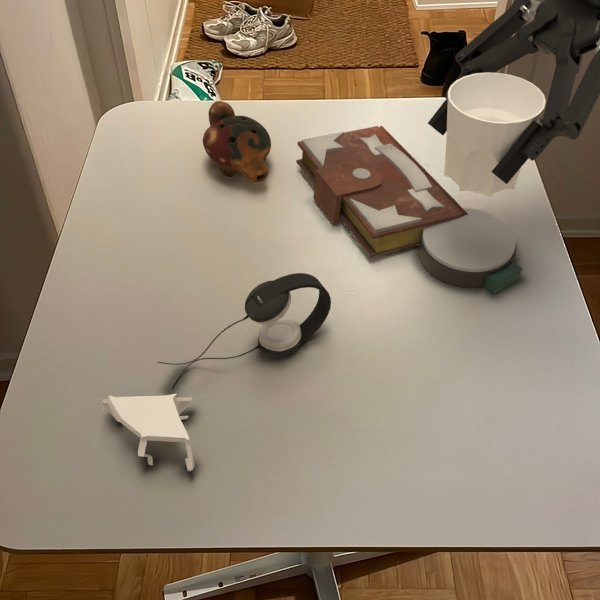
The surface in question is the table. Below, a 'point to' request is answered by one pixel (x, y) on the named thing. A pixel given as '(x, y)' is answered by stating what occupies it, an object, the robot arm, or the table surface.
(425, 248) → the scale
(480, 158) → the cup
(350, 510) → the table surface
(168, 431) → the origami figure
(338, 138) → the book
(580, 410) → the table surface
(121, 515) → the table surface
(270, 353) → the headphones
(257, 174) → the ocarina
